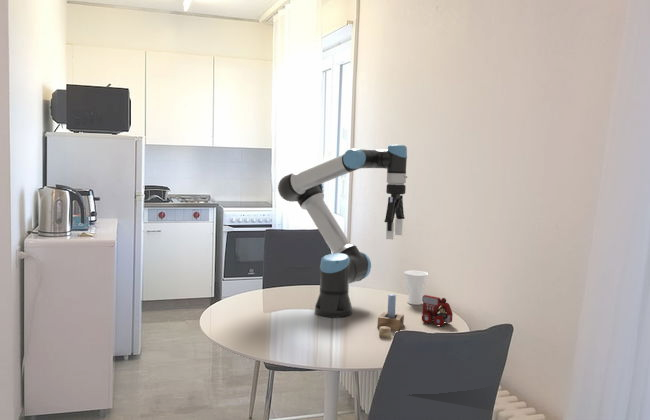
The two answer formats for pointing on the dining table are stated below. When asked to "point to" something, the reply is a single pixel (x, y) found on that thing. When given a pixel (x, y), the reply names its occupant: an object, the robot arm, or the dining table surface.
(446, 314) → the toy fire truck
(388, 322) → the wooden block with hole
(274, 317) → the dining table surface
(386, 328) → the loose oak bead
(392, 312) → the blue rectangular block
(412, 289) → the cup
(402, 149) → the robot arm
